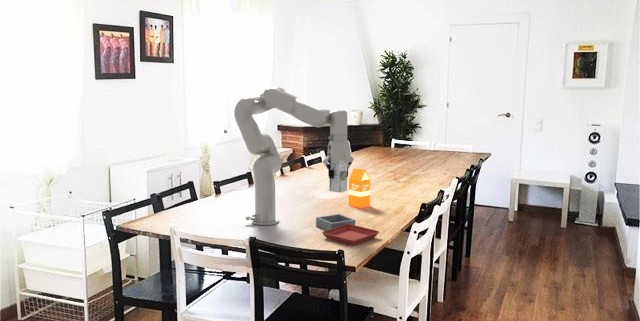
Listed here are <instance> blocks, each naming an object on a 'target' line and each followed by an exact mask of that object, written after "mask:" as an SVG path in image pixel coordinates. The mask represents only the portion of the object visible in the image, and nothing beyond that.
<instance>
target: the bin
mask: <svg viewBox="0 0 640 321" xmlns="http://www.w3.org/2000/svg"><path fill="white" fill-rule="evenodd" d="M346 224H351V225H355V226H356V219H354V218H351V217H349V216H346V215H344V214H341V213H337V214H330V215H323V216H316V217H315V227H319V228H320V229H323V230H324V231H327V230H330V229H333V228H336V227H339V226H343V225H346Z"/></svg>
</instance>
